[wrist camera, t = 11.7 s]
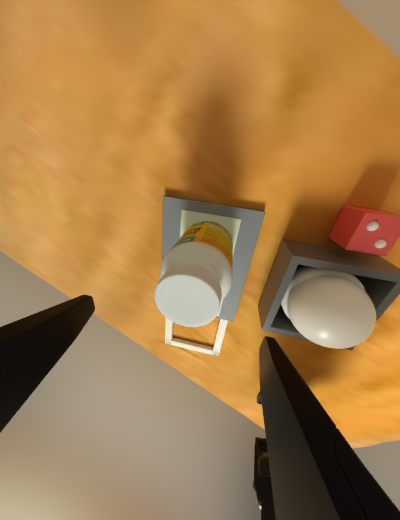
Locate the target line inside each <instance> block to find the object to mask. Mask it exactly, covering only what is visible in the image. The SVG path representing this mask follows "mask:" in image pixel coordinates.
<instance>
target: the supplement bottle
mask: <svg viewBox="0 0 400 520" xmlns="http://www.w3.org/2000/svg"><path fill="white" fill-rule="evenodd" d="M160 274H161V279H160V281H159V283H158V284H157V286H156V288H155V293H154V297H155V302H156V305H157V307H158V309H159V310H160V311H161V313H162V314H163V315H164V316H165V317H166V318H168V319H169V320H171V321H172V322H174V323H177V324H179V325H183V326H188V327H198V326H203V325H206V324H208V323H210V322H211V321H212V320H214V319H215V317H216V316H217V314H218V312H219V309H220V304H221V301H222V300H223V299H224V298H225V297H226V295H227V294H228V292H229V290H230V288H231V285H232V278H233V242H232V238H231V235H230V233H229V232H228V230H227V229H226V228H225V227H224V226H223V225H221V224H220V223H218V222H214V221H207V220H205V221H199V222H196V223H194V224H193V225H191V226H190V227H189V228H188V229H187V230H186V232H185V233H184V234H183V235H182V236H181V238H180V239H179V240H178V241H177V242H176V244H175V245H174V246H173V247H172V248H171V249H170V251H169V252H168V253H167V255H166V256H165V258H164V259H163V262H162V265H161V271H160Z"/></svg>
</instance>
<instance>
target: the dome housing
mask: <svg viewBox="0 0 400 520" xmlns="http://www.w3.org/2000/svg"><path fill="white" fill-rule="evenodd" d="M399 236H400V216H398V215H395V214H391V213H387V212H384V211H379V210H372V209H365V208H358V207H351V206H343V208H342V210H341V212H340V214H339V216H338V218H337V220H336V222H335V224H334V226H333V228H332V230H331V232H330V234H329V236H328V237H329V238H330V239H331V240H333V241H334V242H336V243H337V244H338V245H340V246H341V247H343V248H344V249H346V250H352V251H358V252H364V253H369V254H364V253H358V252H352V251H346V250H341V249H335V248H329V247H323V246H317V245H311V244H305V243H299V242H293V241H288V240H282V241H281V244H280V247H279V249H278V252H277V255H276V258H275V260H274V263H273V266H272V269H271V271H270V274H269V277H268V280H267V282H266V285H265V288H264V291H263V293H262V296H261V299H260V302H259V304H258V309H259V316H260V322H261V328H262V330H264V331H268V332H273V333H277V334H282V335H286V336H290V337H295V338H299V339H304V340H308V339H307V338H305V337H304V336H303V335H302V334H301V333H300V332H299V331H298V330H297V329H296V328H295V327H294V325H293V324H292V322H291V320H290V319H289V318H288V317H287V316H286V314H285V312H284V310H283V307H282V306H280V304H281V302H282V300H283V298H284V295H285V293H286V291H287V289H288V286H289V284H290V282H291V280H292V277H293V275H294V273H295V271H296V268H297V266H298V264H299V265H305V266H310V267H316V268H321V269H327V270H332V271H338V272H343V273H348V274H354V275H357V276H356V278H357V279H358V280H359V281H360V282H361V283H362V285H363V286H364V289H365V292H366V293H367V294H368V296H369V297H370V299H371V300H372V302H373V305H374V307H375V311H376V321H377V320H378V319H379V317H380V316H381V315H382V314H383V313H384V311H385V310H386V309H387V308H388V307H389V305H390V304H391V303H392V302H393V301H394V300H395V298H396V297H397V296H398V295H399V294H400V269H399V268H398V267H396V266H394V265H393V264H391V263H389V262H388V261H386V260H384V259H383V258H381V257H379V256H376V255H381V256H386V255H387V253H388V252H389V250H390V249H391V247H392V246H393V244H394V243H395V242H396V240H397V239H398V237H399ZM370 254H375V255H370ZM308 341H310V340H308ZM354 347H355V346H353V347H350V348H343V349H348V350H353V348H354Z"/></svg>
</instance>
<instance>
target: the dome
mask: <svg viewBox="0 0 400 520" xmlns="http://www.w3.org/2000/svg"><path fill="white" fill-rule="evenodd" d="M281 305H282V307H283V310H284V312H285V314H286V316H287V317H288V318H289V319H290V320H291V322H292V324H293V325H294V327H295V328H296V329H297V330H298V331H299V332H300V333H301V334H302V335H303V336H304V337H305V338H307V339H308V340H310V341H312V342H314V343H316V344H318V345H321V346H324V347H328V348H335V349H343V348H350V347H353V346H356V345H358V344H360V343H362V342H364V341H365V340H366V339H367V338H368V337H369V336H370V335H371V333H372V332H373V330H374V328H375V324H376V311H375V307H374V305H373V302H372V300H371V299H370V297H369V296H368V294H367V293H366V292H365V289H364V286H363V285H362V283H361V282H360V281H359V280H358V279H357V278H356V277H355V276H354V275H352V274H348V273H343V272H338V271H332V270H327V269H321V268H316V267H310V266H304V267H301V268H299V269H297V270H296V271H295V273H294V275H293V277H292V280H291V282H290V284H289V286H288V289H287V291H286V293H285V295H284V298H283V300H282V302H281Z"/></svg>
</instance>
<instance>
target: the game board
mask: <svg viewBox="0 0 400 520" xmlns="http://www.w3.org/2000/svg"><path fill="white" fill-rule="evenodd" d="M264 214H265V211H261V210H255V209H248V208H242V207H235V206H229V205H222V204H216V203H209V202H203V201H196V200H190V199H183V198H177V197H170V196H163V239H162V262H163V259H164V258H165V256H166V255H167V253H168V252H169V251H170V249H171V248H172V247H173V246H174V245H175V244H176V242H177V241H178V240H179V239H180V238H181V236H182V235H183V234H184V233H185V232H186V230H187V229H188V228H189V227H190V226H191V225H193V224H194V223H196V222H199V221H205V220H207V221H214V222H218V223H220V224H221V225H223V226H224V227H225V228H226V229H227V230H228V232H229V233H230V235H231V238H232V242H233V278H232V285H231V288H230V290H229V292H228V294H227V295H226V297H225V298H224V299H223V300H222V301H221V304H220V309H219V312H218V314H217V316H216V317H215V318H218V319H220V322H219V326H218V330H217V334H216V338H215V343H214V347H210V346H206V345H201V344H197V343H193V342H189V341H185V340H181V339H177V338H173V322H172V321H171V320H169V319H168V318H166V331H165V343H166V344H170V345H174V346H178V347H182V348H186V349H190V350H194V351H198V352H202V353H206V354H210V355H214V356H219V352H220V348H221V345H222V341H223V337H224V334H225V330H226V326H227V322H228V321H232V322H233V321H234V317H235V314H236V311H237V307H238V304H239V300H240V297H241V293H242V290H243V287H244V283H245V280H246V276H247V273H248V269H249V266H250V262H251V259H252V256H253V252H254V249H255V245H256V242H257V238H258V235H259V232H260V228H261V225H262V221H263V218H264Z"/></svg>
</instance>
